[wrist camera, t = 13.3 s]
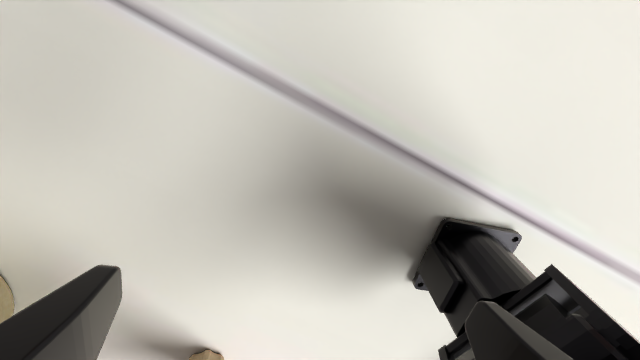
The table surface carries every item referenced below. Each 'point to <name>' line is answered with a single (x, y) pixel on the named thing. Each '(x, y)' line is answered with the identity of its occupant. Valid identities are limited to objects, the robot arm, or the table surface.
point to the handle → (207, 356)
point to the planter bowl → (5, 301)
